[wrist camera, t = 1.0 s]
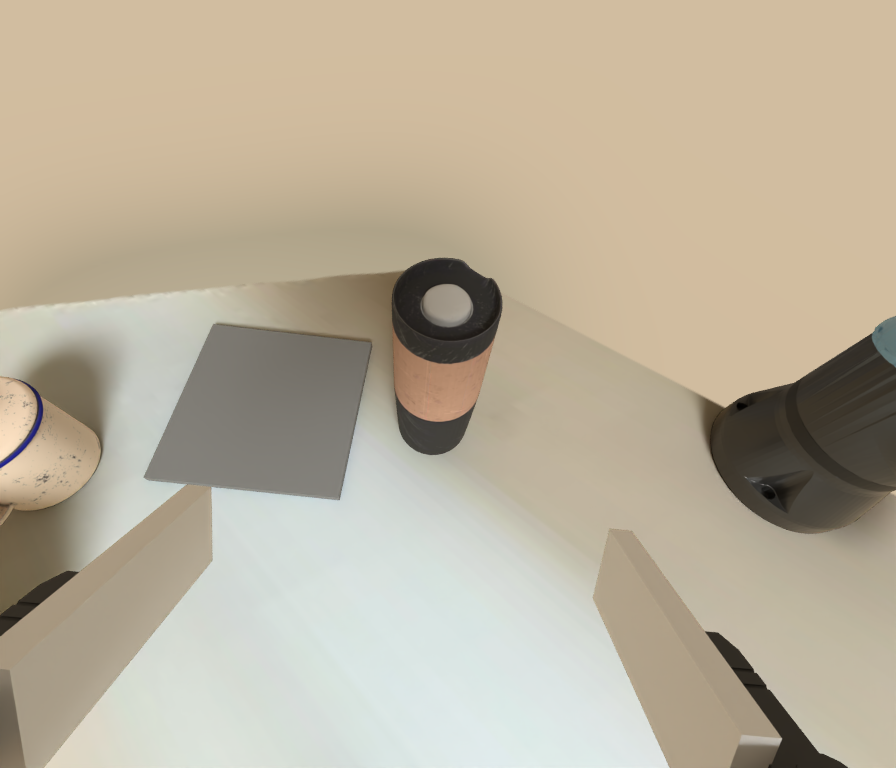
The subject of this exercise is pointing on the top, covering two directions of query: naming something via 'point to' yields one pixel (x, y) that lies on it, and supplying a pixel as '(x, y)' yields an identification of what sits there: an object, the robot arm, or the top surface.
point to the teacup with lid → (40, 450)
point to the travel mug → (441, 349)
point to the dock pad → (265, 414)
